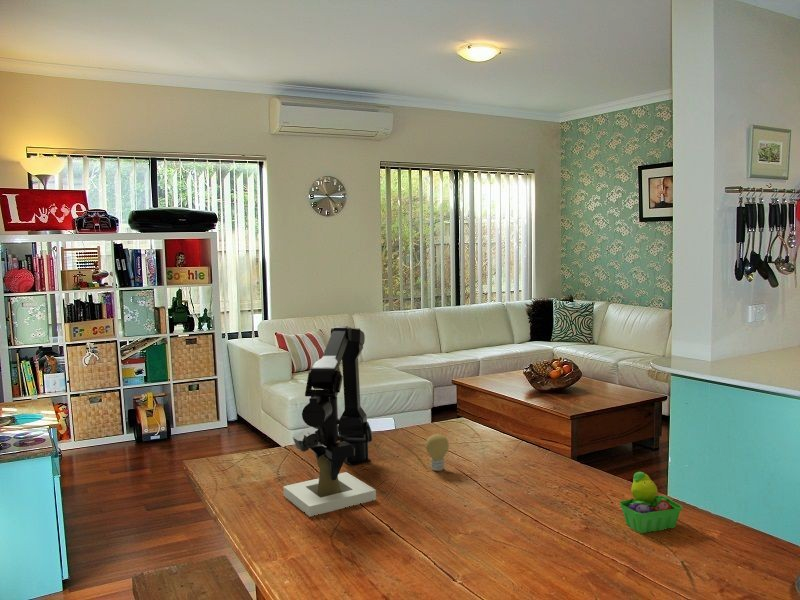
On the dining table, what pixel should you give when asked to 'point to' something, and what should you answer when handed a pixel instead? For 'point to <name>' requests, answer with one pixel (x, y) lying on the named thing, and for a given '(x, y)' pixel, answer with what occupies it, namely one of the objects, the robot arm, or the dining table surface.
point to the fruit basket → (649, 507)
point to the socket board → (314, 505)
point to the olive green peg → (326, 479)
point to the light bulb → (437, 450)
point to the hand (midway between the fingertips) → (328, 476)
